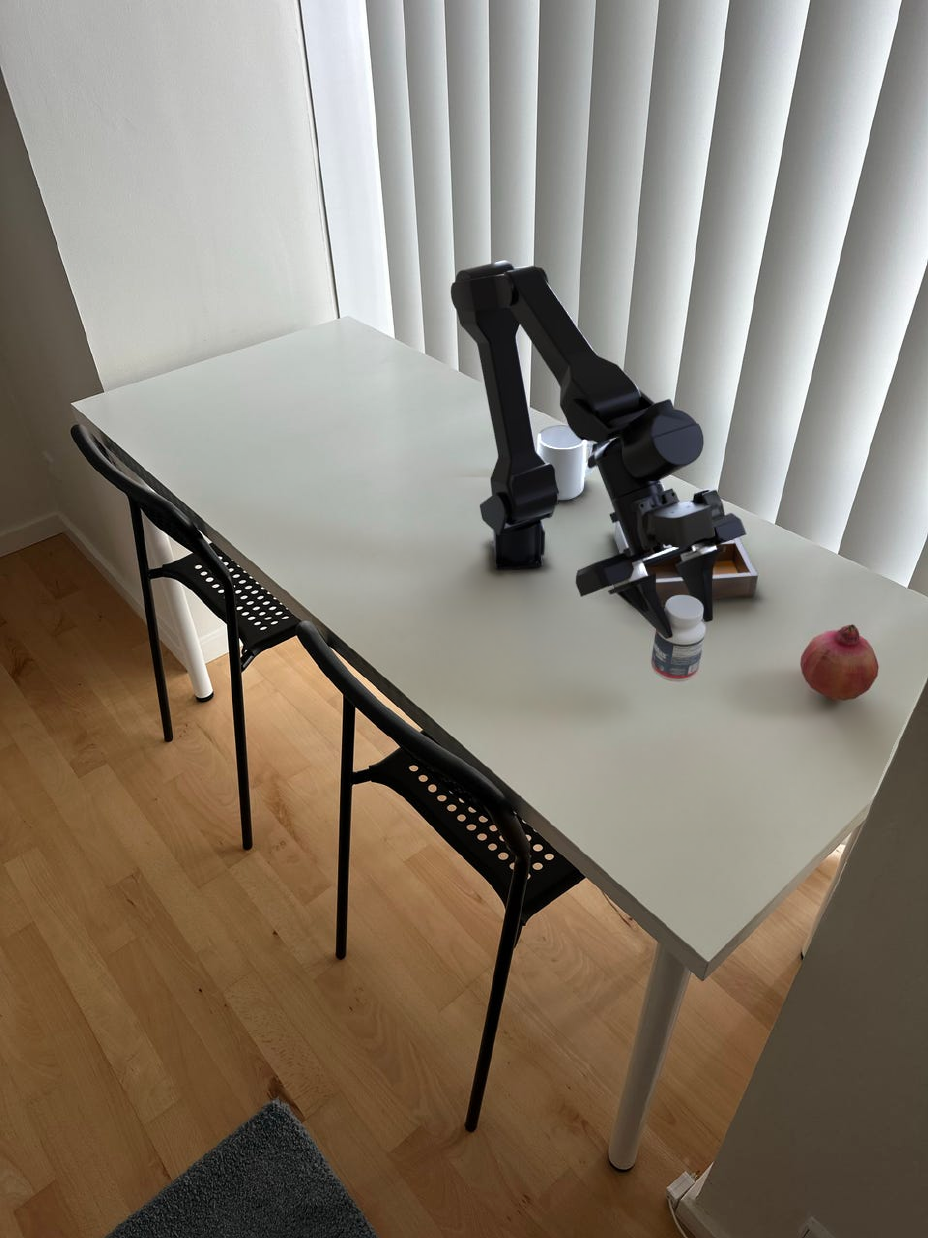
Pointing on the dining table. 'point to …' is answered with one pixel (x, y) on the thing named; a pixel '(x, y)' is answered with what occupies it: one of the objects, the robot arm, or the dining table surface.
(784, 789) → the dining table surface
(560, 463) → the cup
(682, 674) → the pill bottle
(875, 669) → the fruit
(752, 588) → the divided tray
